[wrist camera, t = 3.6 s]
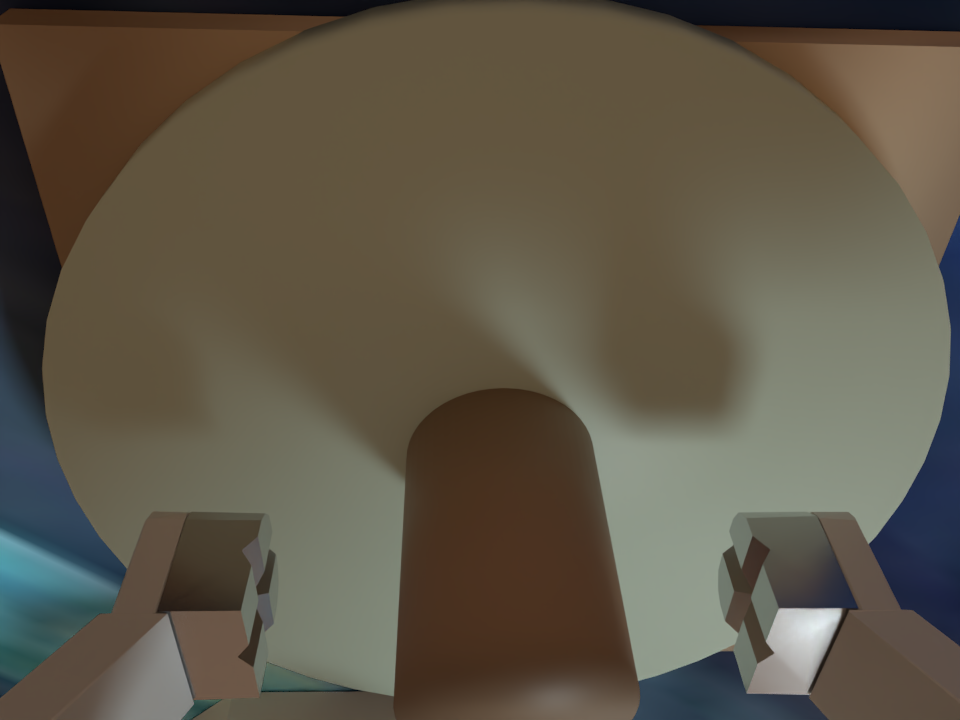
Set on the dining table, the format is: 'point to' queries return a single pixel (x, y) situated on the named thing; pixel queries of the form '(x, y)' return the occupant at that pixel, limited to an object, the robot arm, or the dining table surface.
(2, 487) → the dining table surface
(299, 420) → the lid
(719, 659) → the dining table surface
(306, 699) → the bowl
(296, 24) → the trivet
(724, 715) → the dining table surface
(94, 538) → the dining table surface
